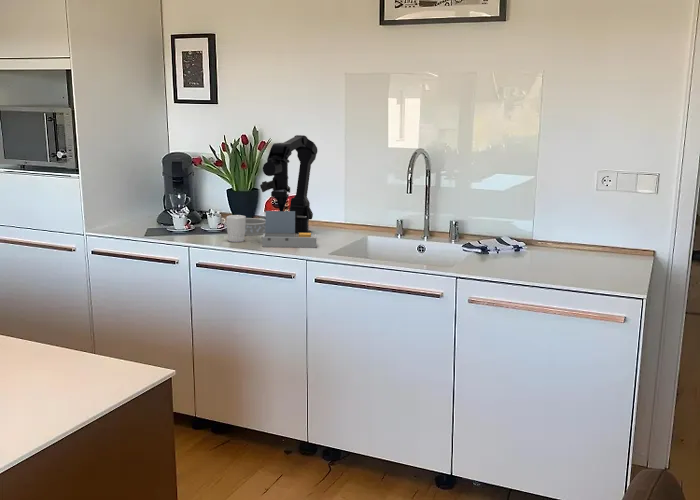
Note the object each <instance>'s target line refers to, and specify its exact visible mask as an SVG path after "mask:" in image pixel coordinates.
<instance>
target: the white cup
mask: <svg viewBox="0 0 700 500" xmlns="http://www.w3.org/2000/svg"><path fill="white" fill-rule="evenodd" d="M225 218H226V229H227V230H226V231H227V240H228V242H233V243H234V242H235V243H238V242H239V243H240V242H244V241H245V239H246V238H245V237H246V236H245V224H246V218H247V216H246V215H241V214H233V215H227V216H226V217H225Z"/></svg>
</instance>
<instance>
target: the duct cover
mask: <svg viewBox="0 0 700 500" xmlns="http://www.w3.org/2000/svg"><path fill="white" fill-rule="evenodd" d="M264 213H265V214H264V215H265V217H264V218H265V219H264V220H265V234H295V235H296V233H295V211H290V210H287V211H286V210H283V211H280V210H265V211H264Z"/></svg>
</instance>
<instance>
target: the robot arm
mask: <svg viewBox="0 0 700 500" xmlns="http://www.w3.org/2000/svg"><path fill="white" fill-rule="evenodd" d="M293 151H296V152H297V155H296V156H297V158H298V159H297V160H298V161H299V168H298V169H299V170H298V176H297V177H298V178H297V184H296V185H297V186H296V192H295V196H293V197H292V198H291V199H290V205H289V210H288V211H295V234H299V233H311V232H312V230H309V221H310V220H312V219H313V217H314V216H313V215H314V213H313V211H312V209H311V207H310V204H311V203H310V200H309V198H308V191H309V185H310V184H309V182H310V175H311V168H312V164H313V163H314V161H315V160H316V157H317V154H318V147H317V145H316V144H315V142H313V141H312V140H310V139H309V138H308V136H307V135H301V134H300V135H299V134H296V135H294V137H292V138H289V139H288V140H286V141H284V142H275V143H273V144H272V145H271V147H270V151H269V153H268V155H267V158H266V160H267V161H266V162H265V163H264V164H263V166H262V171H263V174H264V175H265V176H266V177H272V180H270V181H267V180H265V181H262V182H261V184H259V187H260V189H261V192H262V193H264V192H266V191H270V190H272V191H271V192H270V193H271V194H270V196H271V198H275V200H276V201H277V205H278V209H279V210H278V211H284V209H285V206H286V203H287V200H288V198H289V196H290V194H289V193H291V187H290V186H289V183H288V182H289V174H288V173H289V166H288V165H289V163H290V162H291V161H290V160H289V158H290V156H292V154H293V153H292V152H293Z"/></svg>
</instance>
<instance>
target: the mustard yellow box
mask: <svg viewBox="0 0 700 500" xmlns="http://www.w3.org/2000/svg"><path fill="white" fill-rule="evenodd" d="M298 237H312V233H311V232H308V233H298Z"/></svg>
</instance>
